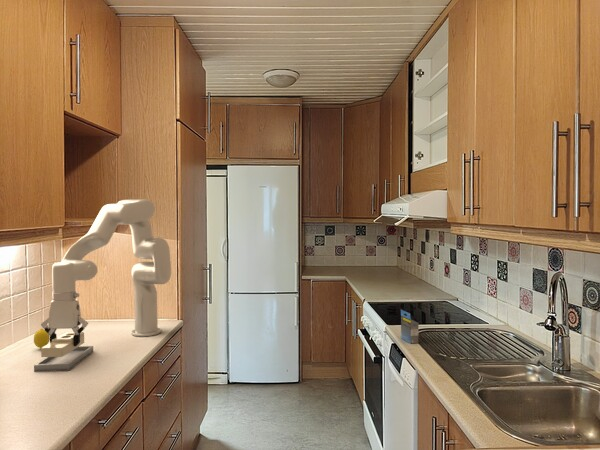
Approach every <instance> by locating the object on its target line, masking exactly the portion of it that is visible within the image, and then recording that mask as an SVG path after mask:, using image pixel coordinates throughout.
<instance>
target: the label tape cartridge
mask: <svg viewBox="0 0 600 450" xmlns="http://www.w3.org/2000/svg"><path fill="white" fill-rule="evenodd" d="M419 324H420V323H419V322H417V321H415V320H414V319H412V318H411V313H409V312H407V311H406V310H403V309H400V335H401V336H400V339H401V340H403V341H405V342H407V343H408V344H410V345H411V344H419Z"/></svg>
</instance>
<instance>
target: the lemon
mask: <svg viewBox="0 0 600 450" xmlns="http://www.w3.org/2000/svg"><path fill="white" fill-rule="evenodd" d="M33 343H34V345H35V347H37V348H39V349H41V348H42V347H44V346H46V345H47V344H49V343H50V336H49V335H48V333H47V332H46V331H45V330H44V328H39V329H38V330H37V331H36V332H35V333H34V336H33Z"/></svg>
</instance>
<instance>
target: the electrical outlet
mask: <svg viewBox="0 0 600 450" xmlns="http://www.w3.org/2000/svg"><path fill="white" fill-rule="evenodd" d="M74 335H75V333H74V332H72V331H67V332H66V331H64V333H61V334H59V335H58V336H57V337H56V338H54V339H53V340H52V342H51V343H50V342H49V343H48V344H47V345H46V346H44V347H42V348H40V351H41V353H40V354H41V358H46V357H63V356H65V355H66V354H68V353H69V352H71V351H72V350H74V349H75V348H77V347H78V346H81V345H82V346H83V344H85V332H83V331H82V332H81V333H80V343H79V344H78V345H77V346H74V337H73V336H74Z"/></svg>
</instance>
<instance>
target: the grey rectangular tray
mask: <svg viewBox="0 0 600 450" xmlns="http://www.w3.org/2000/svg"><path fill="white" fill-rule="evenodd" d="M92 353H94V345H82V346H81V345H80V346H78V347H77V348H75V349H74V350H72V351H71V352H69V353H68V354H66V355H65V356H63V357H43V358H42V359H41V360H39V361H38V362H36V363H35V364H34V365H33V372H67V371H68V372H70V370H72V369H73V368H75V367H76V366H77V365H78V364H79V363H81V362H82V361H84V360H85V359H86V358H87V357H89V356H90V355H91V354H92Z"/></svg>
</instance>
